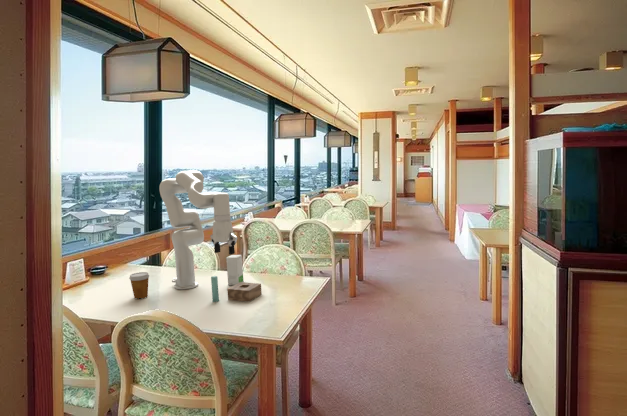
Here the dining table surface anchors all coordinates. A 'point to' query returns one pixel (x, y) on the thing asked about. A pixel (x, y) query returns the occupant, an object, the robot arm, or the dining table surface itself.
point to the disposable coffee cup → (139, 284)
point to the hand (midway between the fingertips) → (224, 253)
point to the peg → (215, 288)
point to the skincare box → (234, 269)
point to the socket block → (244, 291)
